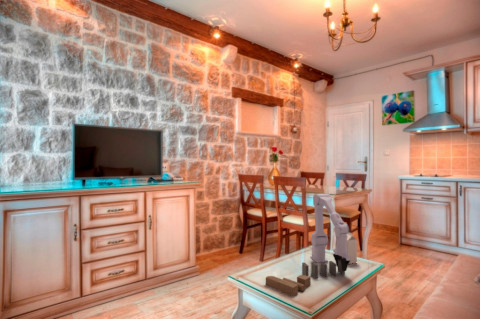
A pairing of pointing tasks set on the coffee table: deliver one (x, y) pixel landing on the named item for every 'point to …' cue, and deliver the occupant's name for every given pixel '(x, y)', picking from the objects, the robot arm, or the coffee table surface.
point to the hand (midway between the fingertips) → (341, 268)
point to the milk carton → (352, 248)
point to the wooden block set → (289, 284)
